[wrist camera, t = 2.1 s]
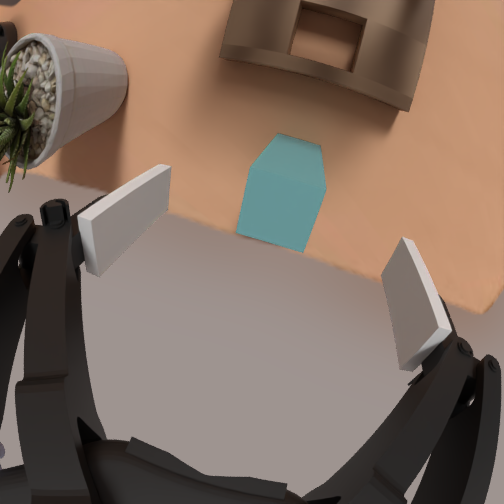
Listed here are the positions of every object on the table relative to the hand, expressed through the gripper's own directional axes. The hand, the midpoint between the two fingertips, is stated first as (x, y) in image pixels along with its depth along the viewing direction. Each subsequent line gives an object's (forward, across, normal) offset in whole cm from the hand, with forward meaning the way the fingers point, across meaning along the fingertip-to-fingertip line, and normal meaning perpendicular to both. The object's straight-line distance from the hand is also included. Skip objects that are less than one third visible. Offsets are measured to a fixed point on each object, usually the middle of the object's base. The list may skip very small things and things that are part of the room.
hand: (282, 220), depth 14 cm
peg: (+12, 0, 0) cm, 12 cm away
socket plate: (+12, 0, +16) cm, 20 cm away
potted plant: (+12, -24, +4) cm, 27 cm away
